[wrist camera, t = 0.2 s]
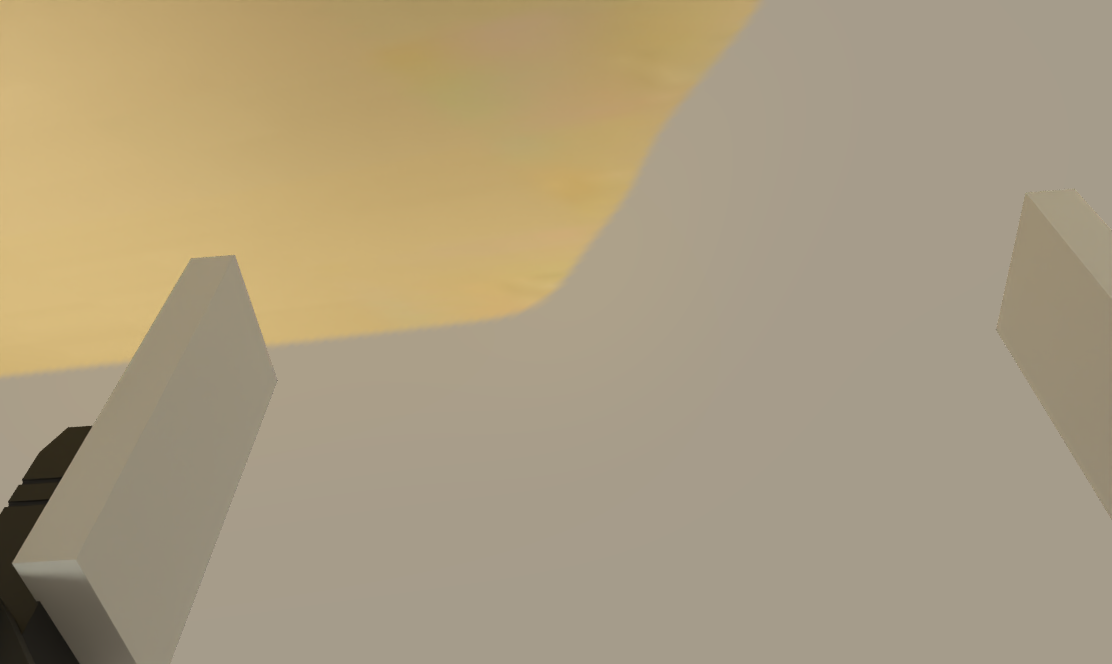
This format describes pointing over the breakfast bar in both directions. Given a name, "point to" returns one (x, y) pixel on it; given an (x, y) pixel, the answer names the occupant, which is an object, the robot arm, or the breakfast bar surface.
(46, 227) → the breakfast bar surface
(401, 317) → the breakfast bar surface
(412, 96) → the breakfast bar surface
